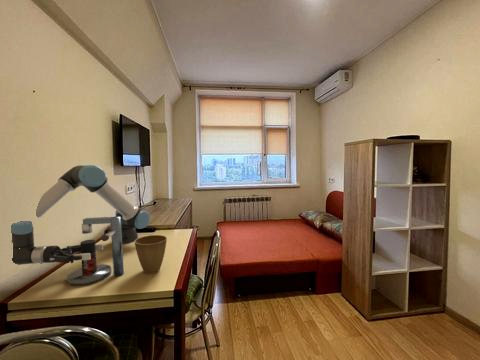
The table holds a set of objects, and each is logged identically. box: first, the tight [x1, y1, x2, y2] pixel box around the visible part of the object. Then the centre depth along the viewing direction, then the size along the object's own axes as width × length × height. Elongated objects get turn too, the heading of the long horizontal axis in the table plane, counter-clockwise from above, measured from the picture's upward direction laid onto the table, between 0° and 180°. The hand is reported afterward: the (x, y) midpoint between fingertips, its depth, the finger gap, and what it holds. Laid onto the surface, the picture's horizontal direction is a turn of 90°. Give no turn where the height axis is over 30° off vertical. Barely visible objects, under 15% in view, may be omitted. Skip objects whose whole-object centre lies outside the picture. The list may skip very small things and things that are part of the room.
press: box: [66, 215, 125, 287], centre depth 111 cm, size 28×19×28 cm
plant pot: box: [134, 234, 168, 275], centre depth 118 cm, size 15×15×16 cm
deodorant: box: [79, 239, 98, 275], centre depth 113 cm, size 6×6×15 cm
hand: (96, 251), depth 113 cm, fingers open, 12 cm apart
